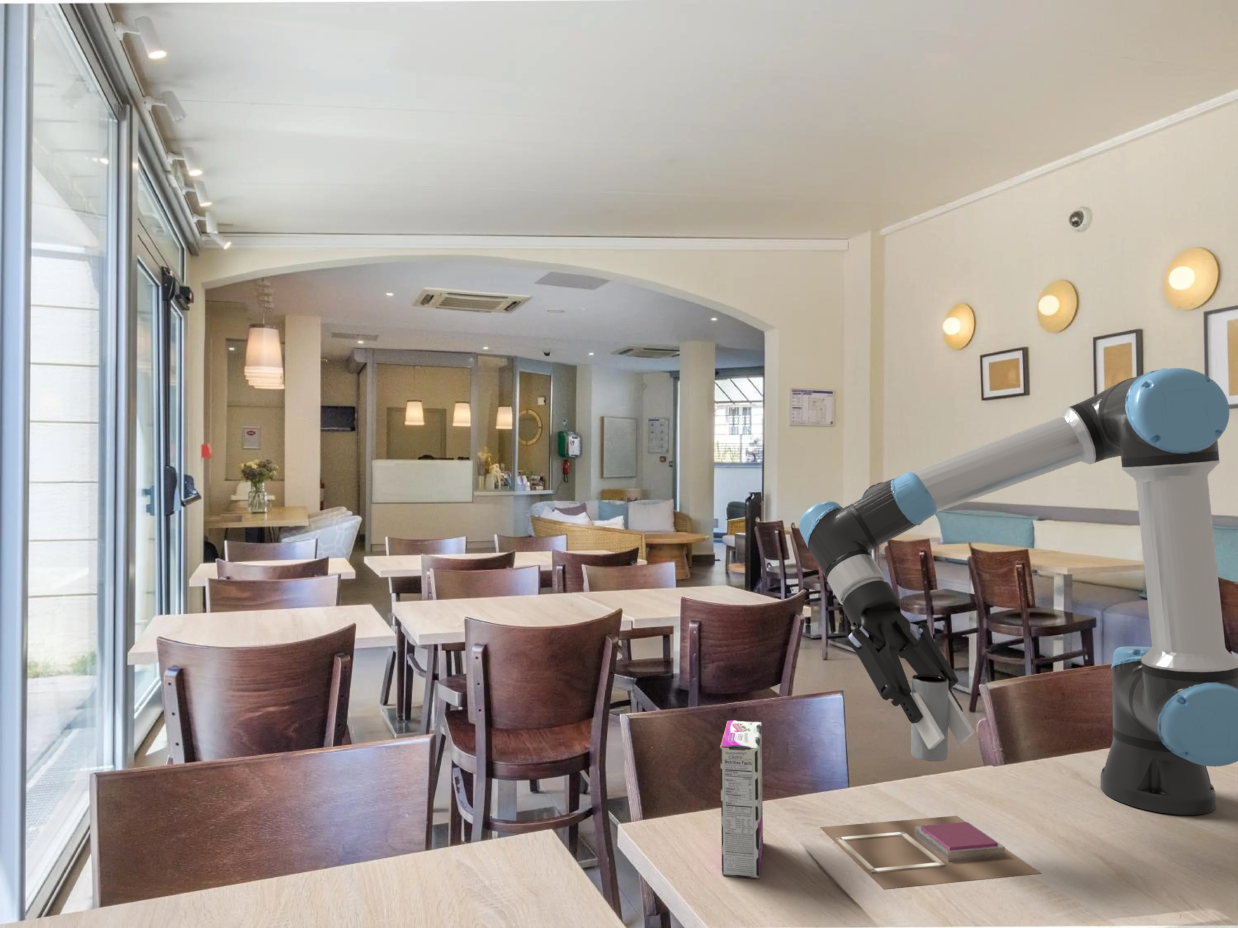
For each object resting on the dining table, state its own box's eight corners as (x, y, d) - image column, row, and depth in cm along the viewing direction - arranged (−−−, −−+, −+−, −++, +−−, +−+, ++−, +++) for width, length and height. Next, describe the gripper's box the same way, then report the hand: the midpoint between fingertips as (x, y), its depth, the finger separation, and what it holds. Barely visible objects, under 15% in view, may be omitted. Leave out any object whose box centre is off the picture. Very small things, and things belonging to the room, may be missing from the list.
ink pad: (968, 830, 118) (968, 819, 118) (1004, 856, 110) (1004, 844, 110) (914, 835, 117) (914, 824, 117) (948, 861, 109) (948, 849, 109)
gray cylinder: (950, 763, 111) (951, 683, 111) (913, 760, 112) (914, 680, 112) (944, 751, 115) (945, 674, 115) (909, 749, 116) (909, 672, 116)
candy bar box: (726, 838, 118) (726, 718, 118) (763, 842, 117) (763, 721, 117) (719, 876, 107) (719, 744, 107) (759, 880, 106) (759, 746, 106)
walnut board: (956, 822, 123) (956, 814, 123) (1041, 881, 106) (1041, 871, 106) (819, 834, 119) (819, 825, 119) (884, 897, 102) (883, 886, 102)
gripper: (897, 605, 131) (984, 746, 116) (803, 613, 123) (884, 764, 109) (923, 575, 126) (1018, 717, 111) (828, 580, 119) (915, 734, 104)
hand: (951, 740), depth 110 cm, fingers closed on gray cylinder, 4 cm apart
